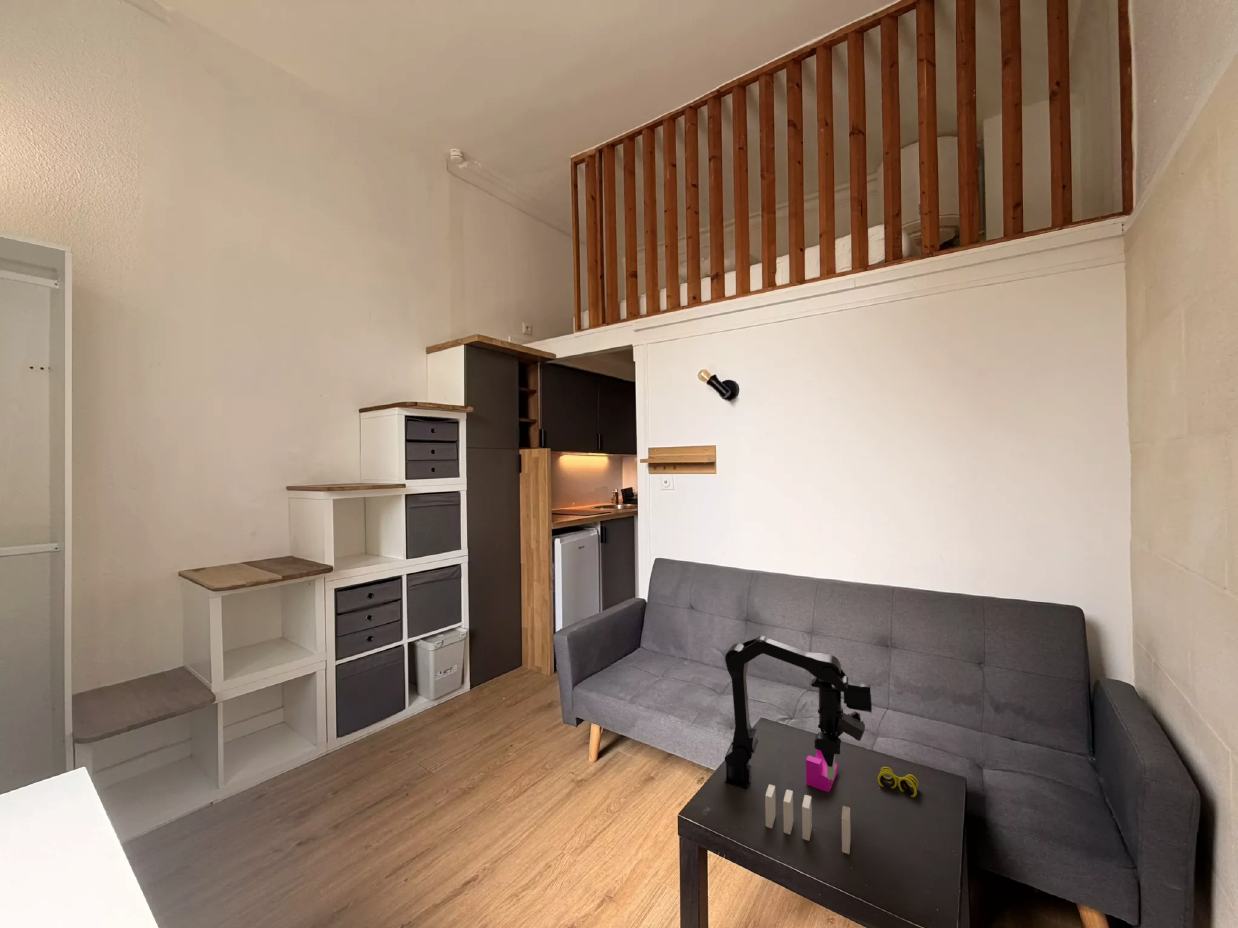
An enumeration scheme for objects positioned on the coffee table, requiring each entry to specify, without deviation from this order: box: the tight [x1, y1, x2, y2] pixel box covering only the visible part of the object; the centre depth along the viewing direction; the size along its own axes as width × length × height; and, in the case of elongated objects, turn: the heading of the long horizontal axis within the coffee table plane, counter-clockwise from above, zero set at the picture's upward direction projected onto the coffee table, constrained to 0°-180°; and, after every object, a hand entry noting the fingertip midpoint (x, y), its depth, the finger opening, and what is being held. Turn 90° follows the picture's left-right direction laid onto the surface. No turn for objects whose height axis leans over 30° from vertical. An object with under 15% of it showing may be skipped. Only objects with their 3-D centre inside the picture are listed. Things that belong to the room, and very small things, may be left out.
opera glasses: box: [877, 766, 919, 798], centre depth 139 cm, size 10×5×5 cm, turn 53°
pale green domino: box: [827, 754, 836, 781], centre depth 133 cm, size 2×5×8 cm, turn 152°
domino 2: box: [782, 789, 794, 835], centre depth 125 cm, size 2×5×8 cm, turn 152°
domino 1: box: [764, 783, 777, 829], centre depth 128 cm, size 2×5×8 cm, turn 152°
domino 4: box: [841, 805, 851, 855], centre depth 119 cm, size 2×5×8 cm, turn 152°
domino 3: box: [801, 794, 813, 842], centre depth 123 cm, size 2×5×8 cm, turn 152°
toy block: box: [805, 749, 839, 793], centre depth 146 cm, size 15×6×8 cm, turn 143°
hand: (830, 760), depth 133 cm, fingers closed on pale green domino, 5 cm apart
